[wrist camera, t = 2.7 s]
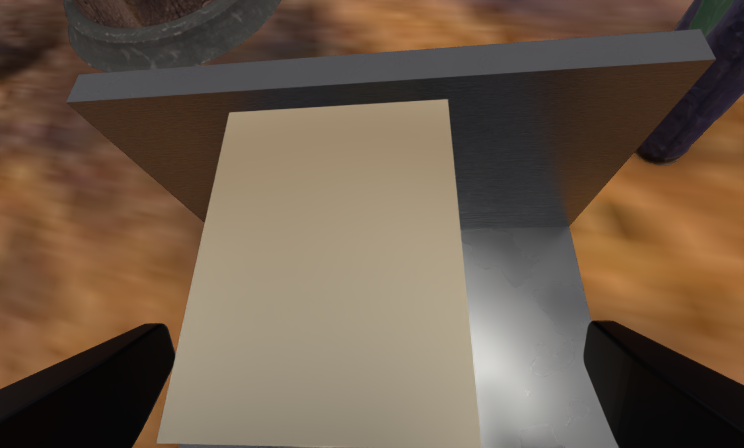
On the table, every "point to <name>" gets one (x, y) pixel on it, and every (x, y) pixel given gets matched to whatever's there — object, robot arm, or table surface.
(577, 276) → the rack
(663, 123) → the flask
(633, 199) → the table surface
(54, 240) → the table surface
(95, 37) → the tankard
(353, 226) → the birch block
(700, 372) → the robot arm
